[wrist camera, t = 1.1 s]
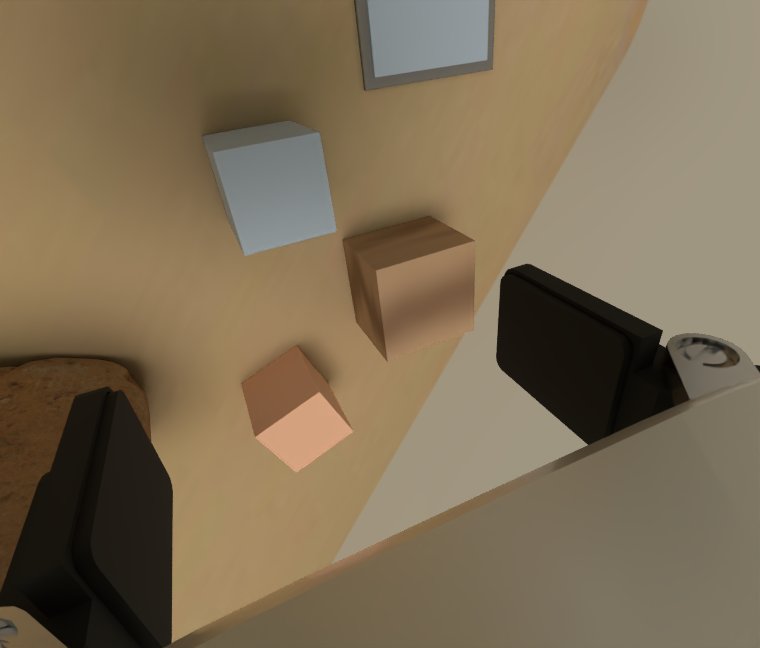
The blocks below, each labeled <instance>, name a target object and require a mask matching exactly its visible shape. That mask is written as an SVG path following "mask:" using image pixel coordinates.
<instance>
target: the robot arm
mask: <svg viewBox="0 0 760 648" xmlns="http://www.w3.org/2000/svg"><path fill="white" fill-rule="evenodd" d="M499 301H500V302H499V318H498V336H497V353H496V358H497V363H498V365H499V367H500V368H501V370H502V371H504V372H505V373H506V374H507V375H508V376H509V377H511V378H512V379H513V380H514V381H515V382H516V383H517V384H519V385H520V386H521V387H522V388H523V389H524V390H526V391H527V392H528V393H529V394H530V395H531V396H532V397H534V398H535V399H536V400H537V401H538V402H539V403H540V404H542V405H543V406H544V407H545V408H546V409H547V410H549V411H550V412H551V413H552V414H553V415H554V416H556V417H557V418H558V419H559V420H560V421H561V422H562V423H564V424H565V425H566V426H567V427H568V428H569V429H571V430H572V431H573V432H574V433H575V434H576V435H577V436H579V437H580V438H581V439H582V440H583V441H584V442H585V443H587V444H588V446H585V447H583V448H581V449H579V450H577V451H575V452H573V453H570V454H568V455H566V456H564V457H561V458H559V459H557V460H555V461H553V462H550V463H548V464H546V465H544V466H542V467H540V468H537V469H535V470H533V471H531V472H529V473H527V474H524V475H522V476H520V477H518V478H516V479H514V480H512V481H510V482H507V483H505V484H503V485H501V486H499V487H496V488H495V489H492V490H490V491H488V492H486V493H483V494H481V495H479V496H477V497H475V498H473V499H471V500H468V501H466V502H464V503H462V504H460V505H458V506H455V507H453V508H451V509H449V510H447V511H445V512H443V513H440V514H438V515H436V516H434V517H432V518H430V519H428V520H426V521H423V522H421V523H419V524H417V525H415V526H413V527H411V528H408V529H406V530H404V531H402V532H400V533H398V534H396V535H393V536H391V537H389V538H387V539H385V540H383V541H381V542H379V543H376V544H375V545H372V546H370V547H368V548H366V549H364V550H362V551H359V552H357V553H356V554H353V555H351V556H349V557H347V558H345V559H342V560H340V561H339V562H336V563H334V564H332V565H330V566H328V567H325V568H323V569H321V570H319V571H317V572H315V573H313V574H311V575H308V576H306V577H304V578H302V579H300V580H298V581H296V582H294V583H292V584H289V585H287V586H285V587H283V588H281V589H279V590H277V591H275V592H273V593H271V594H269V595H267V596H265V597H263V598H261V599H259V600H257V601H255V602H253V603H251V604H249V605H247V606H245V607H242V608H240V609H238V610H236V611H234V612H232V613H230V614H228V615H226V616H224V617H222V618H220V619H218V620H216V621H214V622H212V623H210V624H208V625H206V626H204V627H202V628H200V629H198V630H195V631H194V632H192V633H190V634H188V635H186V636H184V637H182V638H181V639H179V640H177V641H175V642H173V643H171V641H172V518H173V490H172V484H171V480H170V477H169V475H168V473H167V471H166V469H165V467H164V466H163V464H162V462H161V460H160V458H159V456H158V454H157V452H156V451H155V449H154V447H153V445H152V443H151V441H150V439H149V438H148V436H147V434H146V432H145V430H144V428H143V426H142V424H141V423H140V421H139V419H138V417H137V415H136V413H135V411H134V410H133V408H132V406H131V404H130V402H129V400H128V398H127V396H126V395H125V393H124V392H123V391H122V390H117V391H114V392H113V390H112V389H111V388H110V387H108V386H106V387H103V388H99V389H96V390H93V391H89V392H86V393H82V394H79V395H76V396H75V397H74V399H73V402H72V405H71V409H70V412H69V415H68V418H67V421H66V424H65V427H64V430H63V433H62V436H61V439H60V442H59V445H58V448H57V451H56V454H55V458H54V461H53V464H52V467H51V470H50V472H47V473H45V474H44V475H43V476H42V477H41V479H40V481H39V483H38V485H37V488H36V491H35V494H34V497H33V499H32V502H31V505H30V508H29V511H28V514H27V517H26V520H25V523H24V525H23V528H22V531H21V534H20V537H19V540H18V543H17V546H16V548H15V551H14V554H13V557H12V560H11V563H10V566H9V569H8V572H7V574H6V577H5V580H4V583H3V586H2V589H1V592H0V648H760V366H758V365H754V364H753V362H752V361H751V359H750V358H749V357H748V355H747V354H746V353H745V352H744V351H743V350H742V349H741V348H739V347H738V346H736V345H734V344H733V343H731V342H728V341H726V340H724V339H721V338H717V337H714V336H710V335H705V334H696V333H691V334H690V333H686V334H680V335H676V336H674V337H672V338H670V340H669V341H668V343H667V346H666V348H665V347H663V346H662V345H660V344H659V342H660V339H661V335H662V332H663V330H661V329H659V328H657V327H655V326H653V325H651V324H649V323H647V322H645V321H643V320H641V319H639V318H637V317H635V316H633V315H631V314H629V313H627V312H625V311H622V310H621V309H618V308H616V307H615V306H613V305H611V304H609V303H607V302H605V301H603V300H601V299H598V298H596V297H594V296H592V295H591V294H589V293H587V292H585V291H582V290H581V289H579V288H577V287H575V286H573V285H571V284H569V283H567V282H564V281H563V280H561V279H559V278H556V277H555V276H553V275H551V274H549V273H547V272H545V271H543V270H541V269H539V268H537V267H534V266H533V265H530V264H525V265H521V266H518V267H515V268H511V269H508V270H507V271H506V273H505V275H504V276H503V277H502V279H501V284H500V300H499Z"/></svg>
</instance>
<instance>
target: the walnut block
mask: <svg viewBox="0 0 760 648" xmlns="http://www.w3.org/2000/svg"><path fill="white" fill-rule="evenodd" d="M343 246H344V252H345V258H346V264H347V269H348V275H349V281H350V287H351V293H352V299H353V305H354V311H355V317H356V322H357V324H358V325H359V326H360V327H361V329H362V330H363V331H364V333H365V334H366V335H367V336H368V338H369V339H370V340H371V341H372V343H373V344H374V345H375V347H376V348H377V349H378V350H379V352H380V353H381V354H382V356H383V357H384V358H385V359H386V361H387V362H389V361H392V360H395V359H397V358H400V357H403V356H405V355H408V354H411V353H414V352H416V351H419V350H422V349H424V348H427V347H430V346H432V345H435V344H438V343H440V342H443V341H446V340H448V339H451V338H454V337H456V336H459V335H462V334H464V333H467V332H470V331H472V330H474V281H475V240H473V239H471V238H469V237H467V236H465V235H464V234H462V233H460V232H458V231H456V230H454V229H453V228H451V227H449V226H447V225H445V224H443V223H441V222H440V221H438V220H436V219H434V218H432V217H430V216H428V217H424V218H420V219H417V220H413V221H409V222H406V223H402V224H398V225H395V226H391V227H387V228H384V229H380V230H376V231H373V232H369V233H365V234H362V235H358V236H354V237H351V238H347V239H343Z"/></svg>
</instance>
